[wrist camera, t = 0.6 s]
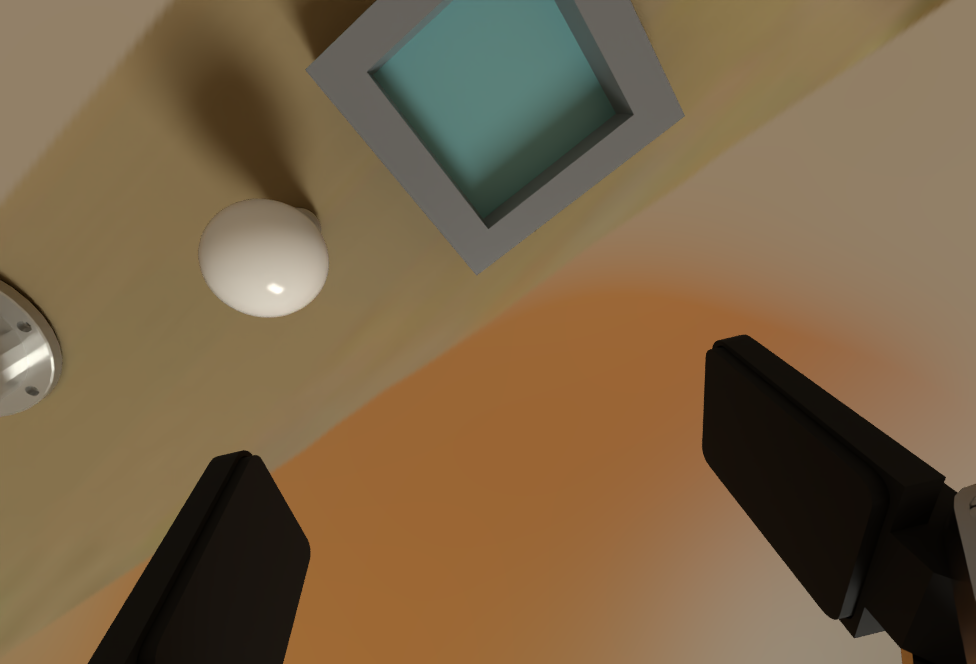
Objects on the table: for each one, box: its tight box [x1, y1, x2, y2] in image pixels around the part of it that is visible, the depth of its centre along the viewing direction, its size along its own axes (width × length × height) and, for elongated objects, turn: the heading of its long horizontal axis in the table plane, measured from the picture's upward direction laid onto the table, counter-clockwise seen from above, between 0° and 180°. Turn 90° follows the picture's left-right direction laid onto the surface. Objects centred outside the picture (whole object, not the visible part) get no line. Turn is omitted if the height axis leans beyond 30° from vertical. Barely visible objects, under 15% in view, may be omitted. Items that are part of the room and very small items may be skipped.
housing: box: [305, 0, 685, 275], centre depth 27 cm, size 16×15×4 cm
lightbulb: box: [198, 199, 329, 318], centre depth 27 cm, size 6×6×11 cm
